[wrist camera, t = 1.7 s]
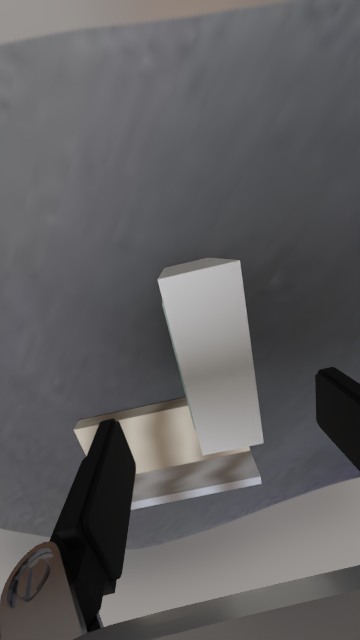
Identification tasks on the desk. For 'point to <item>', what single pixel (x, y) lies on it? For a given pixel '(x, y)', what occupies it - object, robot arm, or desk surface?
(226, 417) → the carton
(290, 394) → the desk surface
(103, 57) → the desk surface
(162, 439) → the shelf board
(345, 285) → the desk surface
